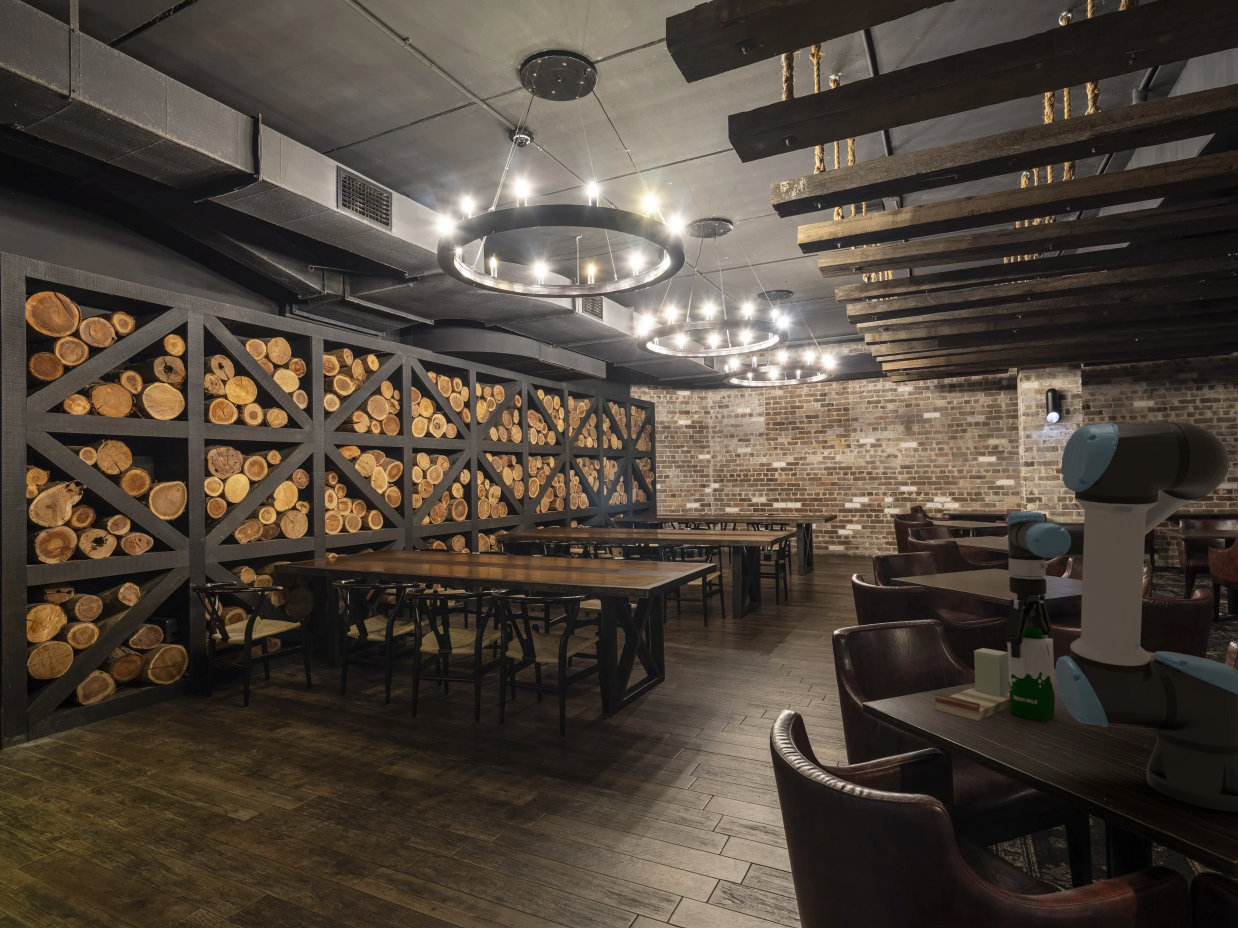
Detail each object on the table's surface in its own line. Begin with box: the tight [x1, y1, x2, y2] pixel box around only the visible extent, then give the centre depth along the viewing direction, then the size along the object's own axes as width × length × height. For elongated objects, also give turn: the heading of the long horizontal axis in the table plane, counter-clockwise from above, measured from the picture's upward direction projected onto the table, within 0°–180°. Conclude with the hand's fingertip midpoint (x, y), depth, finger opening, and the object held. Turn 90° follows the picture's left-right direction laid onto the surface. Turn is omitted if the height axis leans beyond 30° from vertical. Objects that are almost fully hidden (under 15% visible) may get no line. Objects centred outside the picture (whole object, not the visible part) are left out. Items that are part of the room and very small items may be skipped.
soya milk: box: [1006, 626, 1056, 723], centre depth 156 cm, size 9×9×20 cm
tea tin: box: [973, 647, 1010, 697], centre depth 168 cm, size 5×6×10 cm
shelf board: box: [934, 686, 1010, 722], centre depth 163 cm, size 22×10×4 cm, turn 128°
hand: (1029, 666), depth 157 cm, fingers open, 13 cm apart
